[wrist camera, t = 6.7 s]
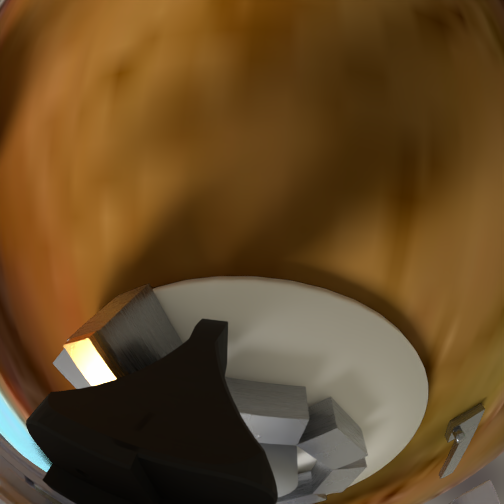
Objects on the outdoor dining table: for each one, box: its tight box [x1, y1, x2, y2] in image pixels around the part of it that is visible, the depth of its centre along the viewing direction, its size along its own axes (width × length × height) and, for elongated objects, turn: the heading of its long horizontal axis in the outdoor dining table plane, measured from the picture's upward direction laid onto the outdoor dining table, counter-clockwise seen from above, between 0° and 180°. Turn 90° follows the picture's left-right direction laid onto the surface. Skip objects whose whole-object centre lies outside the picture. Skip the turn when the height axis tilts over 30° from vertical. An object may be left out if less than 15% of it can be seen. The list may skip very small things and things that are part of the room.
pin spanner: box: [439, 403, 485, 479], centre depth 13 cm, size 13×3×2 cm, turn 19°
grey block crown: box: [63, 283, 368, 504], centre depth 10 cm, size 13×17×4 cm
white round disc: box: [53, 276, 428, 497], centre depth 12 cm, size 22×22×4 cm
